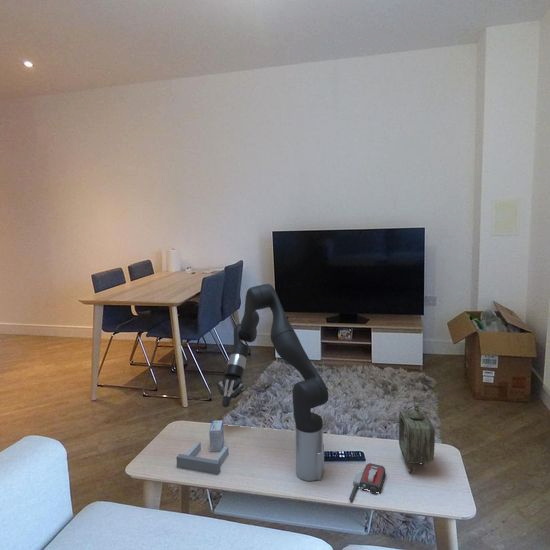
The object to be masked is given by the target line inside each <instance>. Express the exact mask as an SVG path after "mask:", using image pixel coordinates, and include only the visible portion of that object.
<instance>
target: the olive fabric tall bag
mask: <svg viewBox="0 0 550 550" xmlns="http://www.w3.org/2000/svg"><path fill="white" fill-rule="evenodd" d="M412 398H413V399H412V402H413V403H412V404H413V407H414V408H411V409H410V410H409V411H406V410H405V411H402V410H401V411H399V416H398V445H399V448H400V452H401V455H402V458H403V459H404V461H405V462H406V463H411V466H410V468H408V473H409V474H413V473H414V469H413V468H414V466H415V464H417V463H418V464H419V463H423V464H430V463H431V462H432V461H434V458H435V445H436V444H435V441H436V439H435V438H436V435H435V432H436V431H435V427H434V425H433V422H432V421H431V419H430V417H429V416H428V415H427V414H426V413H424V412H423V411H421V410H420V401H419V398H418V397H417V395H414V396H413V397H412ZM415 401H416V402H415Z"/></svg>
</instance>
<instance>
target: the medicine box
mask: <svg viewBox="0 0 550 550" xmlns="http://www.w3.org/2000/svg"><path fill="white" fill-rule="evenodd" d="M208 432H209V433H208V434H209V449H210V452H221V450H222V449H223V448H224V442H225V435H224V434H225V433H224V432H225V430H224V420H212V421H211V425H210V429H209V431H208Z"/></svg>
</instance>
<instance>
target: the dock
mask: <svg viewBox="0 0 550 550" xmlns="http://www.w3.org/2000/svg"><path fill="white" fill-rule="evenodd" d="M201 450H202V445H201V441H196V442H195V443H194V444H193V446H192V447H191V448H190V449H189V450H188V451H187V452H186V453H185V454H183V453H182V454H181V453H179V454H178V455H176V468H177V469H178V468H179V469H184V470H189V471H195V472H201V473H206V474H210V475H211V474H212V475H217V476H218V475H220V473H221V466H222V464H223V463H224V461H225V460H226V458H227V457H228V456H229V452H230V451H229V446H225V445H223V447H222V450H221V451H219V453H218V454H217V455H216V457H215V458H214V459H213V458H206V457H199V456H197V455H198V454H199V453H200V452H201Z"/></svg>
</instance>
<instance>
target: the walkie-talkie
mask: <svg viewBox="0 0 550 550" xmlns="http://www.w3.org/2000/svg"><path fill="white" fill-rule="evenodd" d="M385 476H386V468H385V466H384V465H380V464H376V463H371V462H369V463H367V464H365V468H364V470H363V472H359V473H357V474H356V475H355V478H354V480H353V481H352V486H354V487H352V490H351V493H350V496H349V497H348V499H349V501H350V502H353V499H354V498H355V494H356V492H357V490H358V489H360V490H361V489H368V490H370V493H371V492H372V493H371V494H373V493H375V494H377V493H376V492H380V493H381V490H382V488H381V487H383V484H382V483H384V481H383V480H385V478H384V477H385ZM358 487H360V488H358ZM361 491H362V490H361Z"/></svg>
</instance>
